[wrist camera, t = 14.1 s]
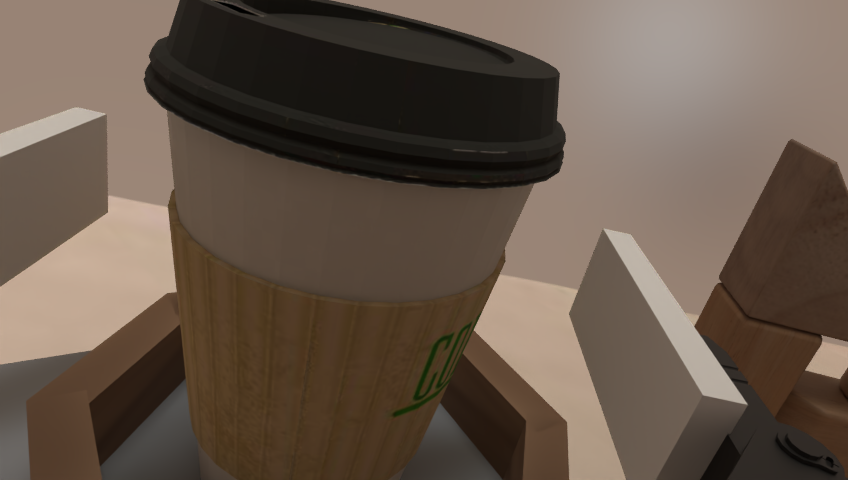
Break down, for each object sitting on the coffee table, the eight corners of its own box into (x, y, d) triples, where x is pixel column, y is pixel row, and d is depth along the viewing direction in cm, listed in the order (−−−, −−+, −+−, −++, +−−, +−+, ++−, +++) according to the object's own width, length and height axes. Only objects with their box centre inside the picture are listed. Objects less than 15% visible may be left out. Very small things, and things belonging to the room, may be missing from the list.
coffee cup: (496, 516, 20) (665, 94, 14) (234, 726, 13) (332, 77, 7) (332, 357, 26) (398, 9, 19) (91, 446, 19) (73, -47, 13)
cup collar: (673, 615, 19) (721, 543, 17) (-7, 1144, 9) (-35, 1083, 7) (400, 311, 32) (414, 254, 30) (-6, 378, 21) (-16, 297, 20)
